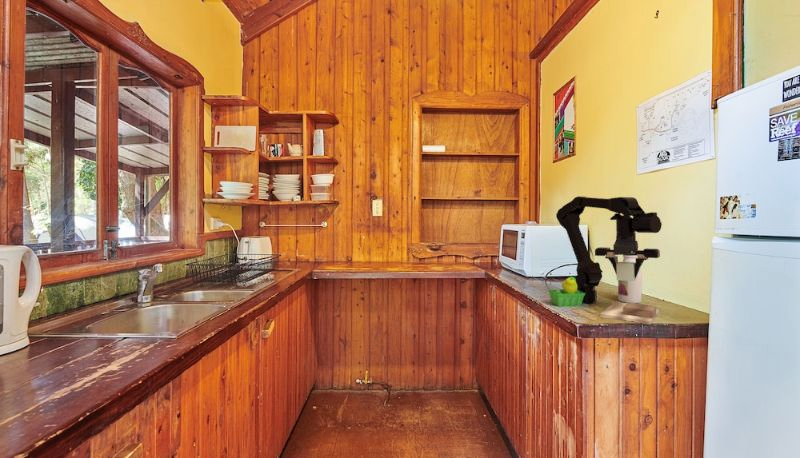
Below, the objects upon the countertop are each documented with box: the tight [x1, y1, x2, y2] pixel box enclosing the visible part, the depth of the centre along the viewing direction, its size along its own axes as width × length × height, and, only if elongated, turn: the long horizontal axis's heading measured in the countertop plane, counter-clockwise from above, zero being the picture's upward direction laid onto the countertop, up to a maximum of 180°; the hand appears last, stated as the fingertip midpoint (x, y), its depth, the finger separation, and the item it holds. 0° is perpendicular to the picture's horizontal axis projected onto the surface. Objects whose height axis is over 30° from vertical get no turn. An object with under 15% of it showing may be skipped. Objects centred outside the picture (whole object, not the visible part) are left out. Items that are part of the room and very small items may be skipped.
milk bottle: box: [617, 251, 643, 304], centre depth 139 cm, size 8×8×20 cm
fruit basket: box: [547, 276, 585, 307], centre depth 135 cm, size 11×9×11 cm
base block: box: [623, 303, 657, 319], centre depth 118 cm, size 8×8×2 cm
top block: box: [616, 261, 636, 281], centre depth 124 cm, size 5×5×6 cm
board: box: [599, 301, 662, 325], centre depth 122 cm, size 14×22×1 cm, turn 137°
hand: (626, 276), depth 124 cm, fingers closed on top block, 5 cm apart
